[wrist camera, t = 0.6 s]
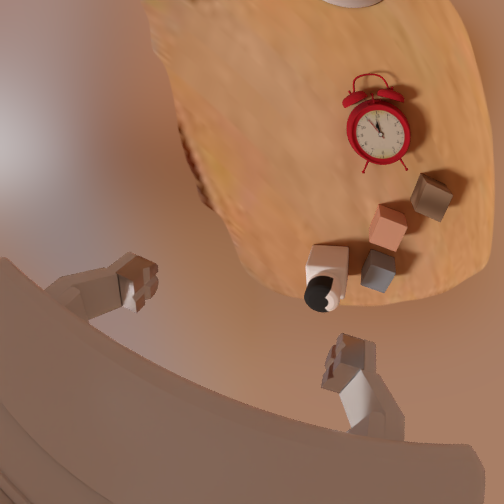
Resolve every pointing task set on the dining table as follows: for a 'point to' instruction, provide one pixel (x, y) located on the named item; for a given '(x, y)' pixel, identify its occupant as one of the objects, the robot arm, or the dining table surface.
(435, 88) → the dining table surface
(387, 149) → the alarm clock
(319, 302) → the medicine bottle
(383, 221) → the terracotta block
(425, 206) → the walnut block
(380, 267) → the slate-grey block
